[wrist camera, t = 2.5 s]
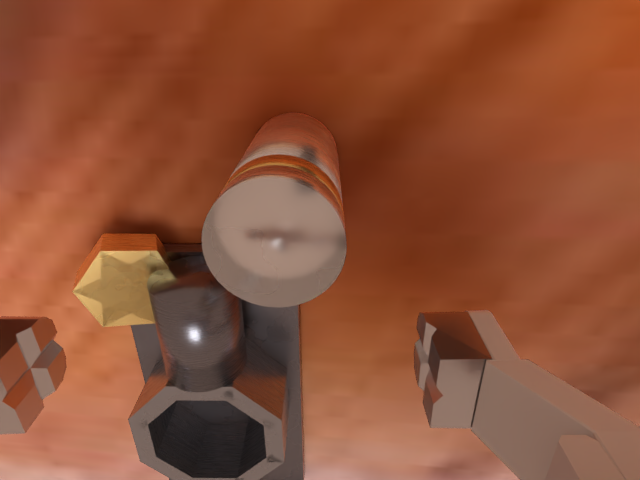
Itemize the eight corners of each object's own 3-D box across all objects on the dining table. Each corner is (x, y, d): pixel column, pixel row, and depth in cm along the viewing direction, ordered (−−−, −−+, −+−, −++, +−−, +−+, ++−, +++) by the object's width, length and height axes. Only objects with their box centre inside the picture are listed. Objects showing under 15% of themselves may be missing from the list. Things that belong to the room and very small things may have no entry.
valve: (338, 112, 21) (348, 178, 12) (337, 197, 23) (344, 307, 14) (248, 112, 21) (192, 178, 12) (254, 196, 23) (210, 307, 14)
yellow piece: (143, 214, 23) (143, 230, 21) (189, 285, 25) (193, 304, 24) (61, 252, 22) (55, 272, 20) (118, 320, 25) (116, 342, 23)
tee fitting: (297, 243, 24) (290, 298, 20) (304, 474, 33) (300, 550, 29) (120, 243, 24) (70, 298, 20) (175, 473, 33) (149, 549, 29)
